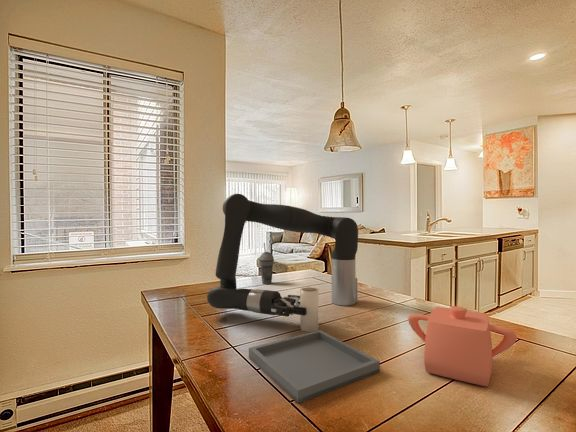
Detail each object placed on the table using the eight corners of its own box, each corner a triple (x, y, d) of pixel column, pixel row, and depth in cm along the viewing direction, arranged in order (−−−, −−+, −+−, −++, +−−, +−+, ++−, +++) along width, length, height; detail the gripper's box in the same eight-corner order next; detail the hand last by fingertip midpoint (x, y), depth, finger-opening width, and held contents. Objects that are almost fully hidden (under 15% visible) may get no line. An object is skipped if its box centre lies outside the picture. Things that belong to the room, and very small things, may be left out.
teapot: (519, 399, 62) (520, 327, 62) (401, 369, 74) (401, 308, 73) (512, 358, 79) (513, 301, 78) (417, 339, 90) (417, 290, 90)
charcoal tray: (320, 338, 91) (320, 329, 91) (379, 372, 72) (379, 361, 72) (248, 357, 79) (248, 347, 79) (297, 403, 61) (297, 390, 61)
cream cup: (311, 324, 102) (311, 286, 102) (322, 329, 98) (321, 290, 98) (296, 327, 100) (296, 288, 99) (307, 333, 95) (307, 292, 95)
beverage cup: (272, 285, 154) (271, 243, 154) (257, 284, 156) (257, 243, 155) (275, 282, 162) (275, 242, 161) (261, 281, 163) (261, 242, 163)
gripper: (252, 295, 98) (302, 301, 92) (273, 285, 111) (318, 289, 105) (253, 320, 98) (302, 327, 92) (273, 307, 111) (318, 312, 105)
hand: (310, 307), depth 98 cm, fingers open, 8 cm apart
